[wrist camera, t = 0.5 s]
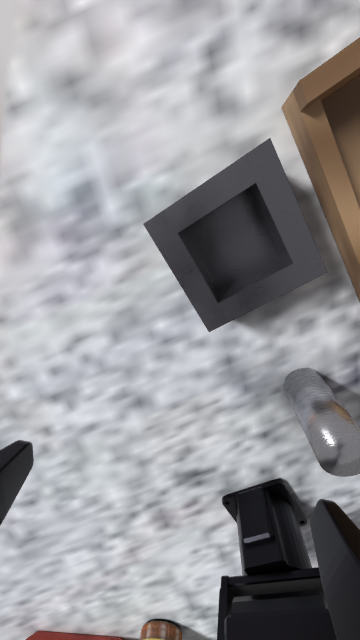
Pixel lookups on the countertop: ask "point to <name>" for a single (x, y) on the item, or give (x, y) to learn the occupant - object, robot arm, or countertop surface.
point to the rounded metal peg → (325, 422)
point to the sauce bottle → (160, 631)
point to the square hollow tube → (238, 239)
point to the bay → (333, 146)
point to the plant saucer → (68, 636)
